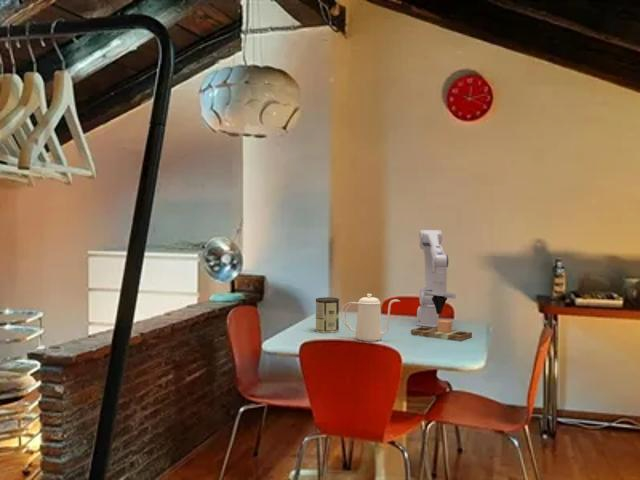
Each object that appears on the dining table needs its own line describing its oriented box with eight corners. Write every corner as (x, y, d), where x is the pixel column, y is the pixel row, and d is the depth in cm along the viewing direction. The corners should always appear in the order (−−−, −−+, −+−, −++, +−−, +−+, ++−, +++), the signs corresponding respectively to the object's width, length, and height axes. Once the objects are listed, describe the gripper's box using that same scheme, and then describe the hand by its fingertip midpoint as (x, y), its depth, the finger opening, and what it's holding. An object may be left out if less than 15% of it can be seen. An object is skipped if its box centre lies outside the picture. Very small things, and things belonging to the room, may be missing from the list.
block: (437, 331, 297) (437, 321, 297) (442, 330, 301) (442, 319, 301) (447, 333, 295) (447, 322, 294) (452, 331, 298) (452, 320, 298)
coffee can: (326, 327, 316) (326, 296, 315) (343, 330, 309) (344, 298, 308) (310, 330, 308) (310, 298, 308) (327, 333, 301) (328, 301, 301)
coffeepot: (396, 344, 281) (397, 297, 280) (337, 339, 289) (337, 293, 288) (402, 339, 291) (403, 293, 290) (344, 334, 299) (345, 290, 298)
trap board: (410, 334, 301) (410, 330, 301) (422, 331, 310) (422, 326, 310) (460, 341, 288) (461, 336, 288) (471, 337, 297) (471, 332, 297)
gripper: (420, 281, 304) (419, 313, 305) (451, 284, 296) (450, 316, 296) (427, 280, 310) (427, 311, 311) (458, 282, 301) (457, 314, 302)
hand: (439, 313), depth 304 cm, fingers closed
